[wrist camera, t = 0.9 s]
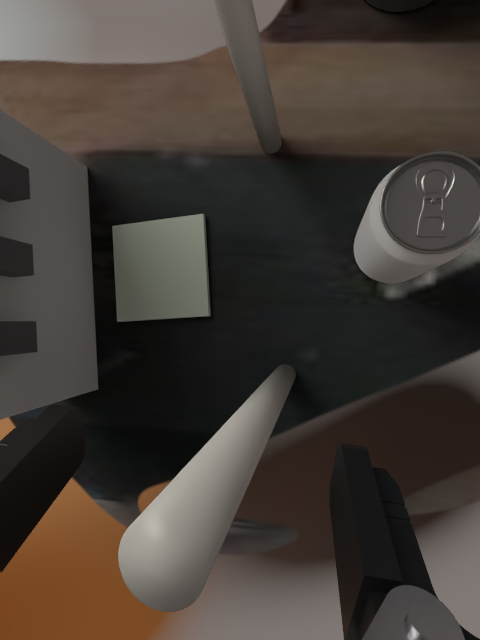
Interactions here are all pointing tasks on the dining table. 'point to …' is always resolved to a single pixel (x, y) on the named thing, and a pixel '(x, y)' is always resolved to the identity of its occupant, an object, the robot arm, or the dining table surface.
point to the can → (420, 217)
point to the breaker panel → (43, 274)
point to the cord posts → (235, 435)
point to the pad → (161, 269)
